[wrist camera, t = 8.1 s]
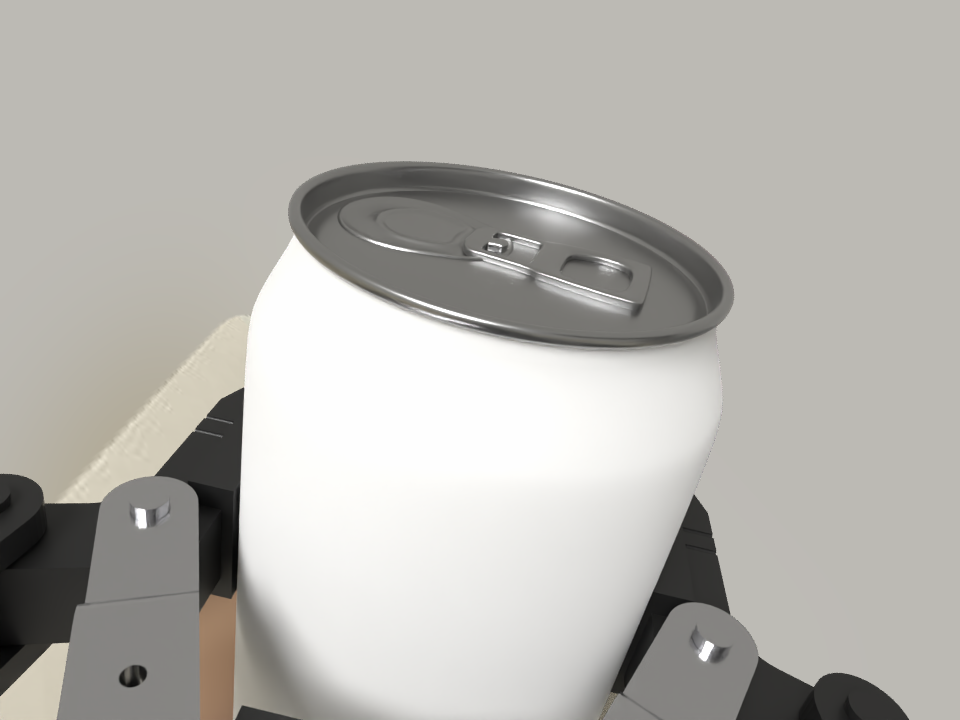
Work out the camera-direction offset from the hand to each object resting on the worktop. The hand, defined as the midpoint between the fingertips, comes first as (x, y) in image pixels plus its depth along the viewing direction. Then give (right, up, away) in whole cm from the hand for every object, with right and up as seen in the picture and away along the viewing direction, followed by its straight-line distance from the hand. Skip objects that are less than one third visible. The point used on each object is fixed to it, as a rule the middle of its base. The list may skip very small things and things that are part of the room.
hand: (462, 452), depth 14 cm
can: (-1, -7, +1) cm, 7 cm away
